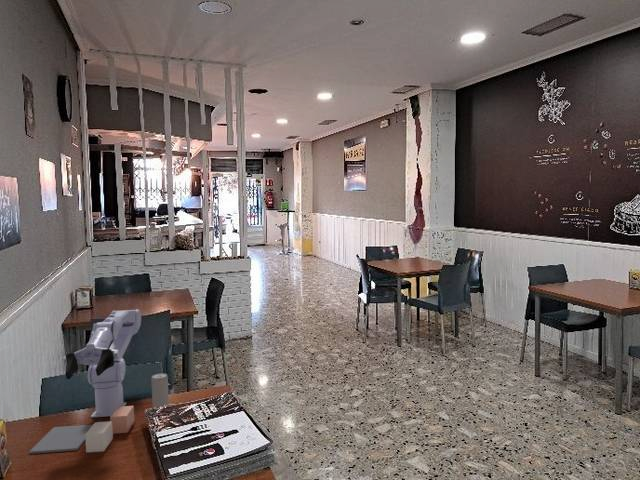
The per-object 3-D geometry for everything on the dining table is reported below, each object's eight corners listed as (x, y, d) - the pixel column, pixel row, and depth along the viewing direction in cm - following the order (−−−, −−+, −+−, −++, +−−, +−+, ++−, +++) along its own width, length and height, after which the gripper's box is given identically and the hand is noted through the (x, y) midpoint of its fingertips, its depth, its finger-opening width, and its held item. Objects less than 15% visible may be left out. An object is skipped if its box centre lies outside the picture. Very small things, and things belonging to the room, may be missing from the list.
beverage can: (163, 417, 141) (162, 379, 140) (149, 416, 142) (148, 378, 141) (172, 410, 146) (170, 373, 145) (158, 409, 147) (156, 372, 146)
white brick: (96, 439, 128) (95, 422, 128) (113, 438, 129) (112, 421, 128) (86, 452, 121) (85, 434, 121) (104, 451, 122) (103, 433, 121)
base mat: (53, 429, 135) (53, 427, 135) (96, 426, 136) (96, 424, 136) (29, 453, 121) (29, 451, 121) (77, 450, 122) (77, 448, 122)
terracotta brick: (118, 423, 138) (118, 406, 138) (134, 421, 139) (133, 405, 139) (111, 434, 131) (110, 416, 131) (127, 432, 132) (126, 415, 132)
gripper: (68, 337, 135) (50, 364, 122) (120, 332, 137) (108, 358, 124) (73, 358, 137) (56, 387, 124) (124, 352, 139) (112, 380, 127)
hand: (82, 374), depth 124 cm, fingers open, 7 cm apart
